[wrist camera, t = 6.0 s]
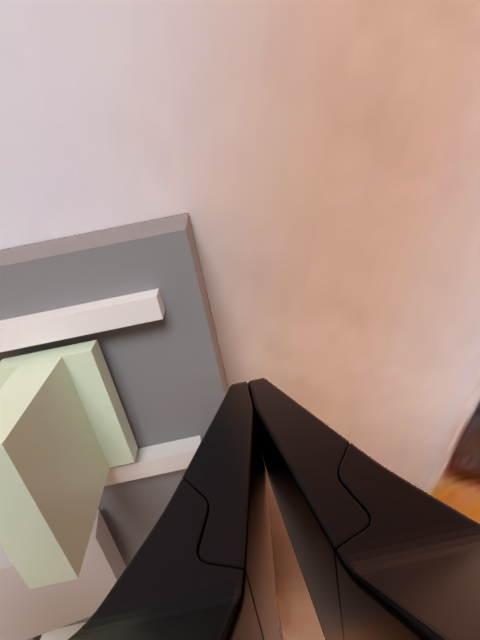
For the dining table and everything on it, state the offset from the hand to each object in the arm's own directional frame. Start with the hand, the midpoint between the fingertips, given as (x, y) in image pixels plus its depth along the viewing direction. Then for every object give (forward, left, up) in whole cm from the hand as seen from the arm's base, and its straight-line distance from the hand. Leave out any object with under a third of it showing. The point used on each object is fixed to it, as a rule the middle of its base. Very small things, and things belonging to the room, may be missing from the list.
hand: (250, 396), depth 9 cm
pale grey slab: (-5, +8, -1) cm, 9 cm away
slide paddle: (0, +5, -1) cm, 5 cm away
